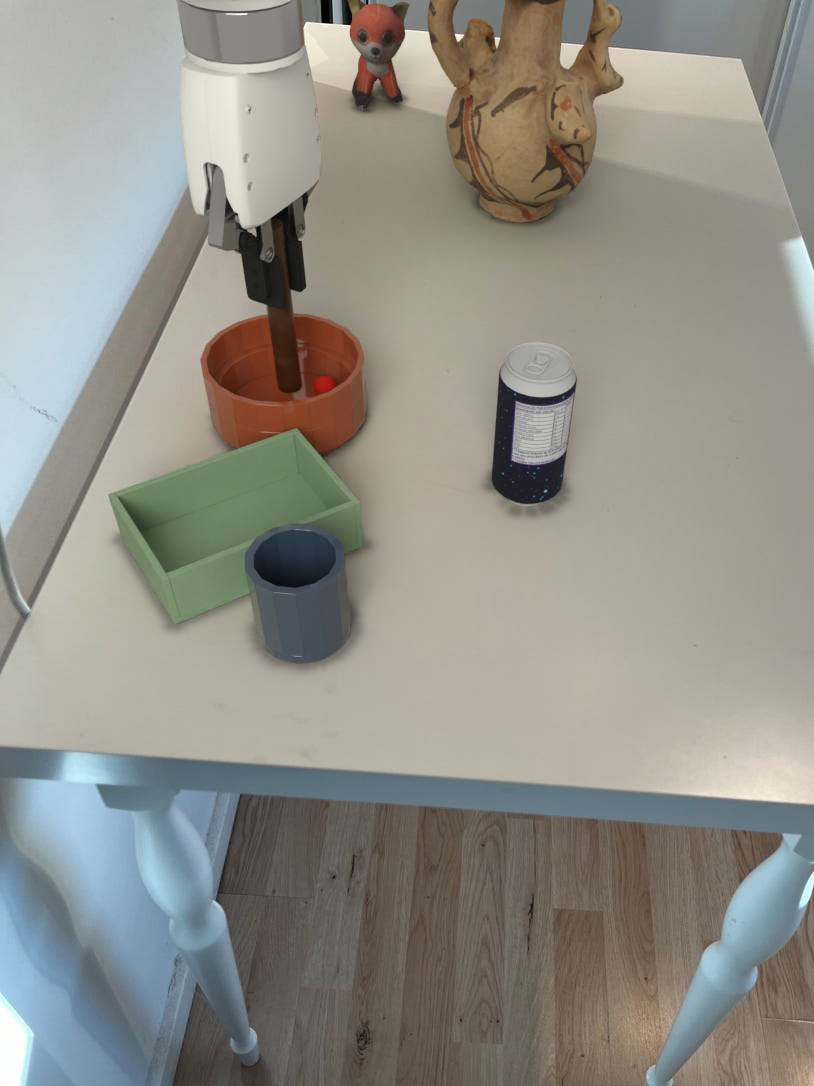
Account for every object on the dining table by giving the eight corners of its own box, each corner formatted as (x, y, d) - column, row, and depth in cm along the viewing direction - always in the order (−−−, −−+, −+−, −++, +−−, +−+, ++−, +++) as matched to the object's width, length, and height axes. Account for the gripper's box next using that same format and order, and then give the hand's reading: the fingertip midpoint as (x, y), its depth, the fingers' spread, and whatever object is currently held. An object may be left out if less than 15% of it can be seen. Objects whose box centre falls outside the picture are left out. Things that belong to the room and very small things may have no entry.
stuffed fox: (411, 81, 132) (410, -22, 123) (409, 116, 125) (409, 9, 115) (355, 79, 131) (350, -24, 122) (350, 114, 124) (344, 7, 115)
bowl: (254, 486, 78) (243, 424, 73) (188, 400, 84) (175, 339, 80) (394, 434, 83) (393, 373, 78) (322, 357, 89) (316, 297, 85)
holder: (284, 678, 65) (272, 608, 60) (242, 616, 69) (227, 545, 63) (367, 640, 68) (363, 569, 63) (323, 582, 71) (315, 510, 66)
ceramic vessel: (575, 260, 103) (610, -14, 84) (404, 228, 106) (400, -45, 87) (609, 186, 114) (646, -69, 95) (454, 159, 117) (461, -95, 98)
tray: (175, 624, 68) (161, 580, 65) (122, 539, 73) (107, 494, 70) (363, 546, 74) (360, 501, 70) (302, 472, 79) (296, 427, 76)
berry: (321, 406, 83) (319, 386, 82) (310, 394, 84) (308, 374, 83) (342, 399, 84) (340, 379, 83) (330, 387, 85) (329, 368, 84)
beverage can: (571, 479, 80) (590, 351, 71) (544, 521, 77) (561, 393, 67) (508, 458, 81) (519, 330, 72) (479, 498, 78) (487, 370, 69)
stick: (284, 396, 80) (262, 233, 70) (273, 383, 82) (250, 221, 71) (306, 388, 81) (287, 226, 71) (295, 376, 82) (275, 214, 72)
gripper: (264, -21, 67) (293, 237, 81) (110, 53, 57) (173, 331, 71) (359, 0, 65) (372, 261, 79) (216, 81, 55) (259, 360, 69)
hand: (277, 292), depth 75 cm, fingers closed on stick, 2 cm apart
